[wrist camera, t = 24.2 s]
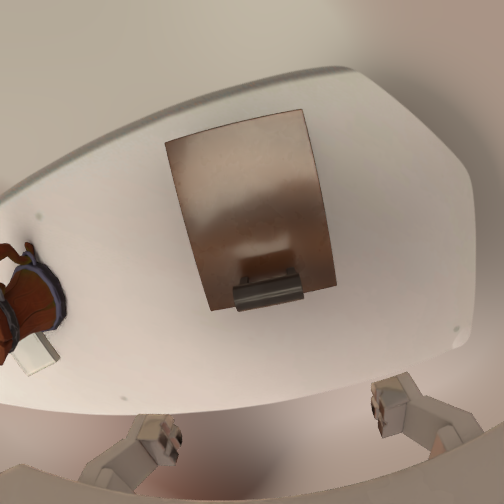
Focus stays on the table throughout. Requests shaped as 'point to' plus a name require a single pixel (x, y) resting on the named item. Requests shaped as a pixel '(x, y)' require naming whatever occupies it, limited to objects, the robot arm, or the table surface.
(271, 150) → the lid
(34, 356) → the hard drive
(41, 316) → the mug
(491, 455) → the robot arm
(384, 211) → the table surface
